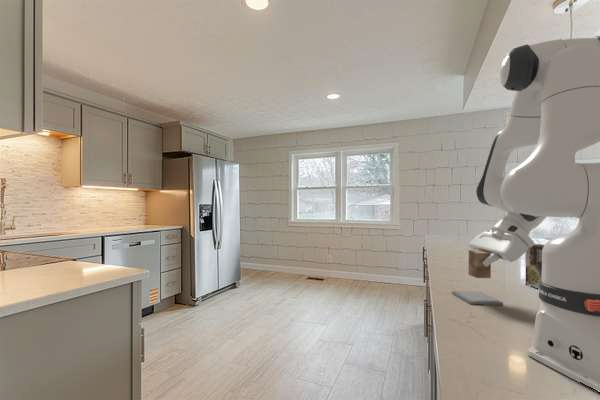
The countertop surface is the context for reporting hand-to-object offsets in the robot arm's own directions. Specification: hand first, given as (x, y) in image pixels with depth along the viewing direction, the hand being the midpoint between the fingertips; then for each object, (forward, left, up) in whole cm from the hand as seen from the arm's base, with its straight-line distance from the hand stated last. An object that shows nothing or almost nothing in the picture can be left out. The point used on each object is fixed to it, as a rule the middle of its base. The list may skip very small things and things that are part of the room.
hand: (477, 262), depth 97 cm
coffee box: (+15, -34, -12) cm, 39 cm away
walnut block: (0, -1, -4) cm, 4 cm away
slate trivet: (0, 0, -12) cm, 12 cm away
